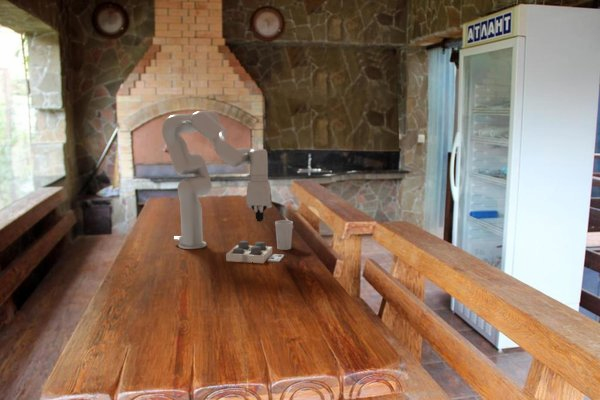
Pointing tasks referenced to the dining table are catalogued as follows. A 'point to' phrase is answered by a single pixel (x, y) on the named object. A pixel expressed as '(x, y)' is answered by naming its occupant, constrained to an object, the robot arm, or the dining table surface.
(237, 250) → the camera button
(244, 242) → the button
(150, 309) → the dining table surface
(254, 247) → the button camera
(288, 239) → the cup
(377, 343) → the dining table surface
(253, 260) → the board
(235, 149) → the robot arm
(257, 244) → the button
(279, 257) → the card
